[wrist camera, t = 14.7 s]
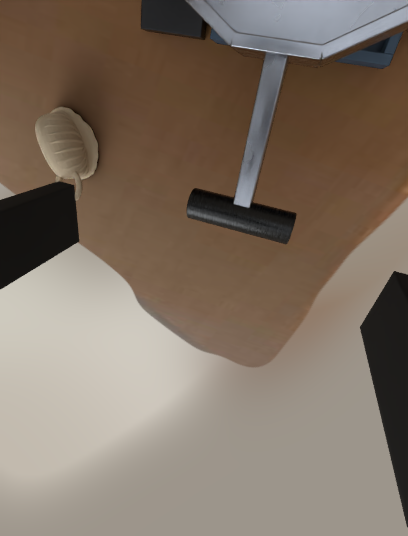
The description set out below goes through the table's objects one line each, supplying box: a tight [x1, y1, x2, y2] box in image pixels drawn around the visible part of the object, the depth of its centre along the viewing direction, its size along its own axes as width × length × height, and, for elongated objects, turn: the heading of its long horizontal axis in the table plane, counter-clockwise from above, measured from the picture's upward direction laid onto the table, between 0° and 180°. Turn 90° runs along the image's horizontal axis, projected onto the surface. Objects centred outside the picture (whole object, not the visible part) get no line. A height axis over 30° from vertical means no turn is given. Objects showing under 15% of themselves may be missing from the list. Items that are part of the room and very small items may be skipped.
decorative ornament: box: [35, 107, 98, 201], centre depth 28 cm, size 4×8×5 cm, turn 12°
